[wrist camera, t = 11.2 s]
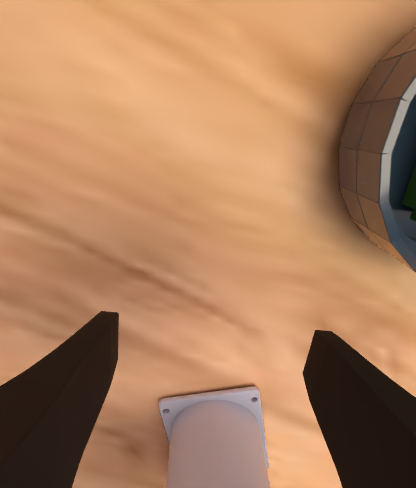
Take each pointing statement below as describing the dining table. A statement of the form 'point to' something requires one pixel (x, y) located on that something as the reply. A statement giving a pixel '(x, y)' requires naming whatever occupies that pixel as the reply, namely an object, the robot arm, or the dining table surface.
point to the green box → (411, 195)
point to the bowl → (383, 153)
